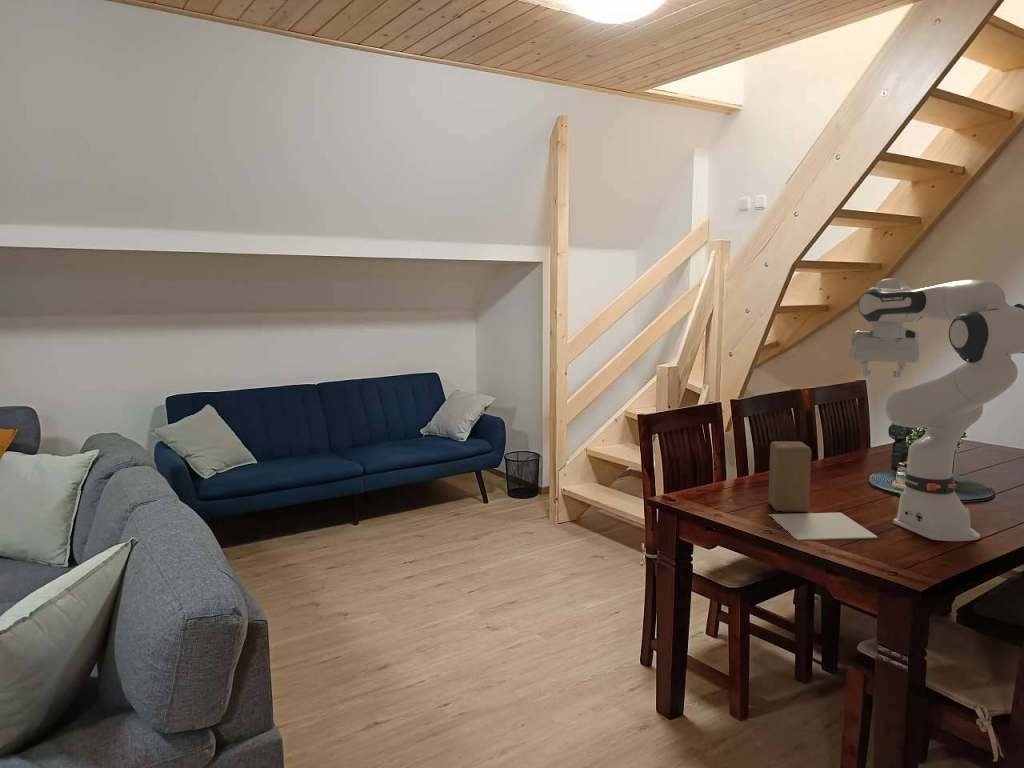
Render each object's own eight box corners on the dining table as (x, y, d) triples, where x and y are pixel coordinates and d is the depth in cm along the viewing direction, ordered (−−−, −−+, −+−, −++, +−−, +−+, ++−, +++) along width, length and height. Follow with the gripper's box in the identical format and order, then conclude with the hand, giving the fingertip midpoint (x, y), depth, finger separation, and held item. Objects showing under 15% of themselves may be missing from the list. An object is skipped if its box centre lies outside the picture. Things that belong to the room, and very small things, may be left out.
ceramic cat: (885, 467, 271) (888, 414, 268) (893, 464, 275) (896, 412, 272) (942, 478, 255) (946, 422, 253) (950, 475, 259) (954, 419, 256)
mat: (877, 538, 198) (877, 536, 198) (797, 540, 198) (797, 538, 197) (840, 513, 219) (840, 512, 219) (767, 515, 218) (767, 514, 218)
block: (800, 503, 230) (802, 440, 227) (809, 513, 220) (812, 448, 217) (767, 502, 231) (769, 440, 228) (775, 512, 221) (777, 447, 218)
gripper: (856, 330, 223) (852, 376, 225) (924, 333, 223) (919, 378, 225) (847, 329, 229) (843, 373, 231) (913, 332, 229) (908, 376, 231)
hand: (881, 376), depth 228 cm, fingers open, 8 cm apart
